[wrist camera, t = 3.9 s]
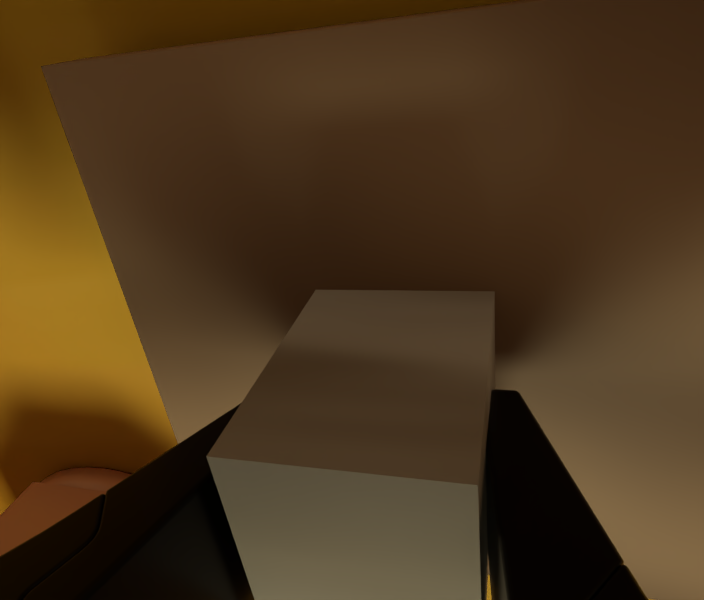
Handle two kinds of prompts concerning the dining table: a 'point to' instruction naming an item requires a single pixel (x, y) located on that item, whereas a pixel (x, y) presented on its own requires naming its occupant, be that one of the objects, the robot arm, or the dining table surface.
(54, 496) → the terracotta bowl
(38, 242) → the dining table surface
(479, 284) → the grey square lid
